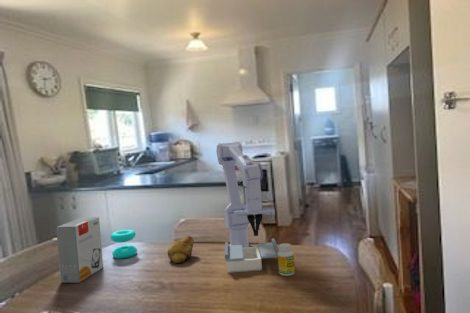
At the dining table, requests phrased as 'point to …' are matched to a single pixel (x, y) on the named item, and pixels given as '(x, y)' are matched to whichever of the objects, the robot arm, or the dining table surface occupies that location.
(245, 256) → the carton
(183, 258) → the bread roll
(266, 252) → the flap
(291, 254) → the supplement bottle
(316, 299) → the dining table surface
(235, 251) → the flap
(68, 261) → the hard drive box
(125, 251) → the donuts
